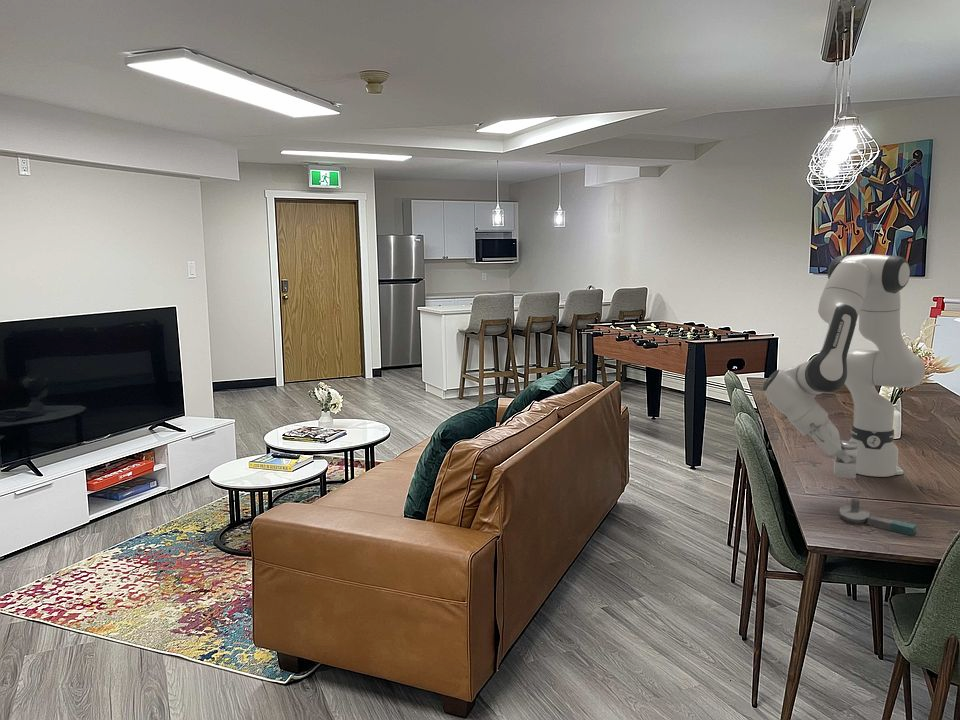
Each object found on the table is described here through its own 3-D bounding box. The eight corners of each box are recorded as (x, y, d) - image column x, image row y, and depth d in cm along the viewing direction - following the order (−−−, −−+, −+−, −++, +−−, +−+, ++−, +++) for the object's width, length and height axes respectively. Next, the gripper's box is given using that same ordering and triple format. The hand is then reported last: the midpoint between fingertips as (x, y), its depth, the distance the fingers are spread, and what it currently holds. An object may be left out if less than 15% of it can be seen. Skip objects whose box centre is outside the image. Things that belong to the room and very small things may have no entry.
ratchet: (835, 520, 189) (836, 500, 188) (844, 513, 193) (845, 493, 193) (910, 538, 176) (912, 517, 176) (917, 530, 181) (919, 509, 180)
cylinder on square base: (833, 470, 201) (835, 439, 199) (854, 472, 199) (856, 441, 197) (834, 476, 196) (836, 444, 195) (855, 478, 194) (858, 446, 193)
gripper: (820, 422, 188) (860, 461, 186) (820, 405, 207) (855, 440, 204) (801, 436, 191) (840, 476, 188) (802, 418, 209) (837, 454, 207)
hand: (848, 457), depth 196 cm, fingers closed on cylinder on square base, 5 cm apart
